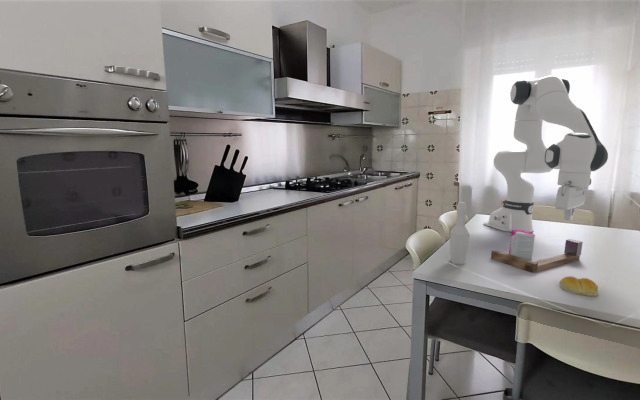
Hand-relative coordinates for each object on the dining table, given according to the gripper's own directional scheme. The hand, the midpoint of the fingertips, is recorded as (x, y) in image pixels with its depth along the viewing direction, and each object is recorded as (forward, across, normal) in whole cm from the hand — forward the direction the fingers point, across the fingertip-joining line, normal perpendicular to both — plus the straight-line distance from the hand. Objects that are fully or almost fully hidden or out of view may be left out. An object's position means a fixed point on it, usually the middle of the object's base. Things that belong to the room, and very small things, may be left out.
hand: (568, 219), depth 118 cm
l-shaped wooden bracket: (+16, -4, +7) cm, 18 cm away
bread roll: (+17, -23, -10) cm, 30 cm away
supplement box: (+16, -12, +10) cm, 22 cm away
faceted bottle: (+16, -30, +24) cm, 41 cm away
